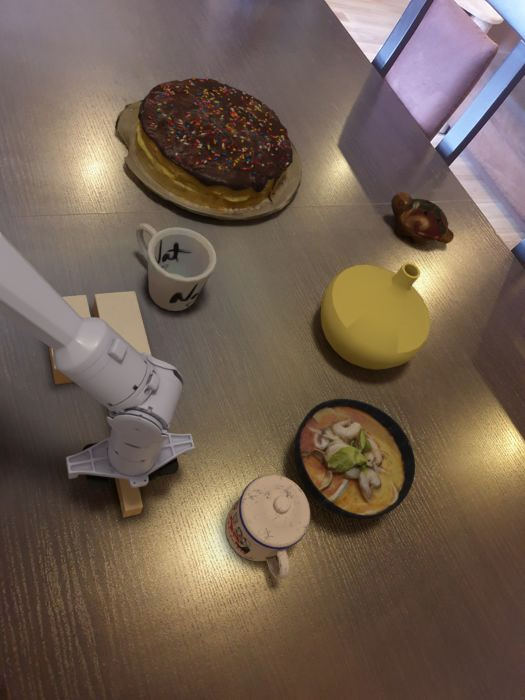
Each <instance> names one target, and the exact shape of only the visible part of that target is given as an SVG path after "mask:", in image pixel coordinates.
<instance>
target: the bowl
mask: <svg viewBox="0 0 525 700" xmlns="http://www.w3.org/2000/svg"><path fill="white" fill-rule="evenodd" d="M293 460H294V466H295V469H296V473H297V477H298V479H299V480H300V482H301V484H302V486H303V488H304V490H305V491H306V492H307V494H308V495H309V496H310V497H311V498H312V500H314V502H315V503H317V504H318V505H319V506H320V507H322V508H323V509H325V510H326V511H327V512H329V513H331V514H334V515H335V516H338V517H342V518H343V519H349V520H357V521H366V520H374V519H377V518H380V517H382V516H385V515H386V514H389V513H390V512H392V511H394V510H395V509H396V508H398V507H399V506H400V504H402V502H404V500H405V499H406V497H407V496H408V494H409V493H410V491H411V488H412V486H413V483H414V479H415V474H416V459H415V453H414V449H413V447H412V444H411V442H410V440H409V438H408V435H407V434H406V433H405V430H404V429H403V428H402V427H401V425H400V424H399V423H398V422H397V421H396V420H395V419H394V418H392V416H390V415H389V414H388V413H386V412H385V411H383V410H382V409H380V408H378V407H376V406H375V405H372V404H369V403H367V402H365V401H360V400H358V399H351V398H333V399H328V400H325V401H323V402H321V403H319V404H317V405H315V406H314V407H312V408H311V409H310V410H309V412H308V413H307V414H306V415H305V417H304V418H303V420H302V421H301V423H300V425H299V426H298V429H297V432H296V435H295V438H294V445H293Z"/></svg>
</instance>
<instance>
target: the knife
mask: <svg viewBox="0 0 525 700" xmlns="http://www.w3.org/2000/svg"><path fill="white" fill-rule="evenodd" d="M107 411H108V412H107V413H108V417H110V411H111V410H109V409H108V408H107ZM114 479H115V480H114V481H115V484H116V485H115V486H116V490H117V496H118V499H119V505H120V510H121V514H122V518H123V519H125V518H130V517H132V516H137V515H140V514H141V513H142V510H143V508H144V504H143V500H142V495H141V491H140V487H137V488H132V487H131V486H130V484H129V481H128V480H127V479H120V478H114Z"/></svg>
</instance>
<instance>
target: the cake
mask: <svg viewBox="0 0 525 700" xmlns="http://www.w3.org/2000/svg"><path fill="white" fill-rule="evenodd" d="M114 128H115V130H116V131H117V133H118V134H119V135H120V137H121V138H122V140H123V142H124V143H125V145H126V146H127V148H128V149H127V150H128V152H127V156H124V157H123V162H124V164H125V166H126V167H127V169H128V170H130V172H132V173H133V174H134V175H135V176H136V178H137V179H139V181H140V182H141V183H142V184H143V185H144V186H145V187H146V188H147V189H148V190H149V191H151V192H152V193H154V194H155V195H157V196H158V197H160V198H161V199H164V200H165V201H168V202H169V203H171V204H173V205H175V206H176V207H178V208H179V209H181V210H183V211H187V212H190V213H192V214H196V215H200V216H203V217H207V218H213V219H217V220H221V221H240V220H243V221H246V220H257V219H261V218H264V217H267V216H269V215H271V214H273V213H277V212H280V211H281V210H282V209H284V207H285V206H287V205H288V204H289V203H290V202H291V201H292V199H293V198H294V197H295V196H296V194H297V192H298V191H299V188H300V186H301V183H302V176H303V173H302V164H301V160H300V156H299V153H298V151H297V149H296V146H295V144H294V143H293V142H292V140H291V139H290V138H289V134H288V129H287V128H286V126H285V125H283V123H282V122H281V120H280V117H279V116H278V115H277V114H276V112H275V111H274V109H271V108H270V107H269V106H268V105H267V104H265V103H264V102H262V100H260V99H258V98H256V97H254V96H253V95H252V94H249V93H246V92H245V91H243V90H240V89H238V88H236V87H233V86H230V85H229V84H227V83H222V82H220V81H218V79H213V78H207V77H206V78H196V77H190V78H187V79H183V80H178V79H173V80H170V81H166V82H161V83H158V84H157V85H155V86H154V87H153V88H151V89H150V90H149V92H148V93H147V94H146V95H145V96H144V98H143V99H141V100H138V101H135V102H131V103H128V104H125V105H124V109H123V110H121V111H120V112H119V113H118V115H117V118H116V121H115V124H114Z"/></svg>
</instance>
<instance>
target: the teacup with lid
mask: <svg viewBox="0 0 525 700" xmlns="http://www.w3.org/2000/svg"><path fill="white" fill-rule="evenodd" d="M310 520H311V508H310V503H309V500H308V498H307V496H306V494H305V493H304V491H303V489H301V487H300V486H299V485H298V484H297V483H295V482H294V481H293V480H291V479H290V478H288V477H286V476H283V475H279V474H265V475H261V476H258V477H256V478H255V479H253V480H252V481H249V483H248V484H247V485H246V487H245V488H244V489H243V491H242V493H241V495H240V497H239V498H238V499H237V500H236V501H235V503H234V504H233V505H232V506H231V508H230V509H229V511H228V513H227V516H226V520H225V534H226V538H227V540H228V542H229V544H230V546H231V547H232V549H233V550H234V551H235V553H237V554H238V555H239V556H241V557H242V558H244V559H246V560H248V561H253V562H264V561H266V564H267V567H268V569H269V572H270V573H271V575H272V576H273V578H275V579H276V580H280V581H281V580H284V579H287V578H288V577H289V575H290V559H289V556H288V552H287V549H288V548H291V547H293V546H295V545H296V544H298V543H299V542H300V541H301V540H302V539H303V538H304V536H305V535H306V533H307V531H308V529H309V526H310ZM276 556H277V557H276ZM277 560H278V561H277Z"/></svg>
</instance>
